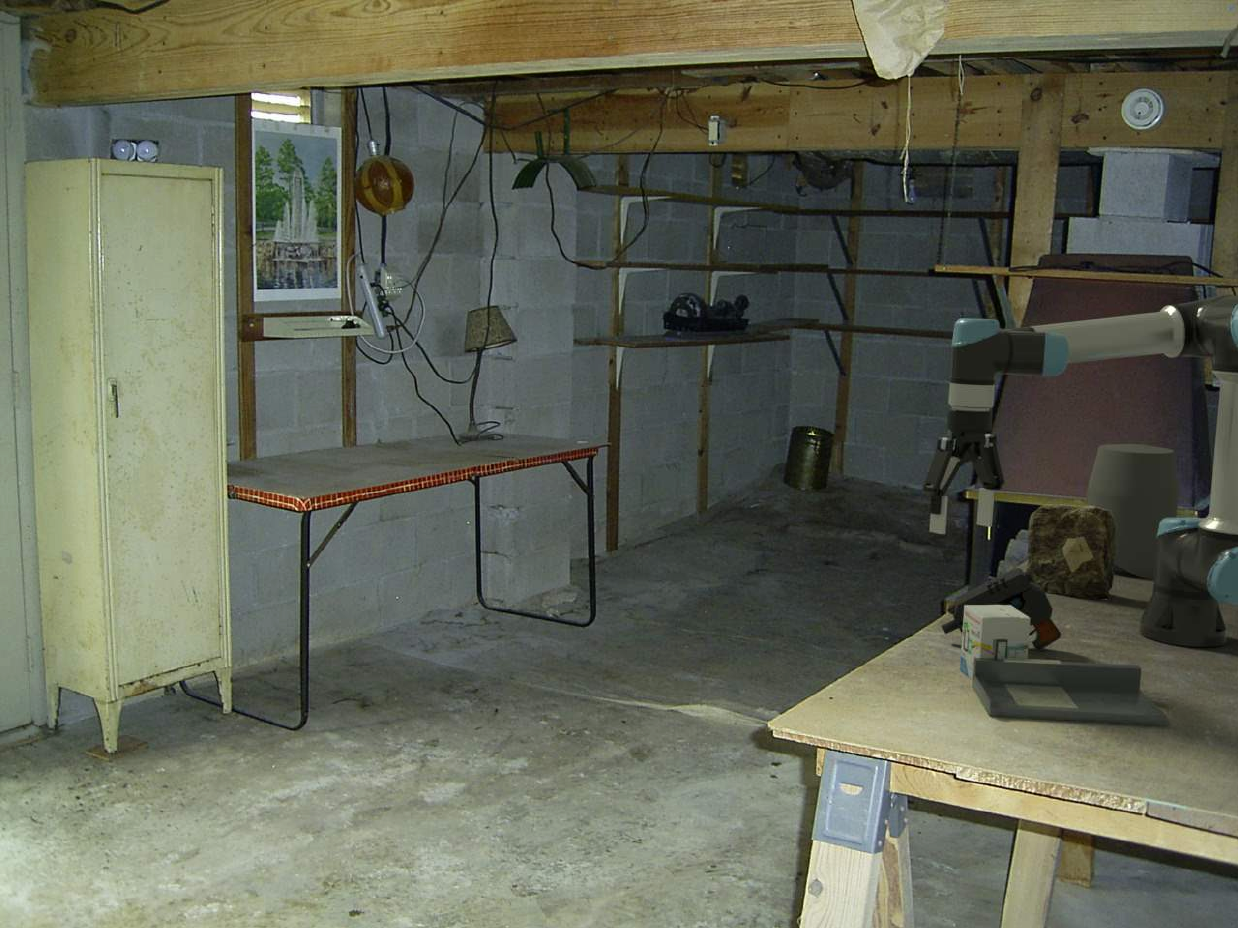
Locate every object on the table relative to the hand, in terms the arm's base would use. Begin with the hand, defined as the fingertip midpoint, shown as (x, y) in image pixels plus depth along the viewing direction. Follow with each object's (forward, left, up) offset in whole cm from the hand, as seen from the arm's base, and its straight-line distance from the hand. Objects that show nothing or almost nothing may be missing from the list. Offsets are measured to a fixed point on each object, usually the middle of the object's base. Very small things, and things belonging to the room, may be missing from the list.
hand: (961, 529), depth 213 cm
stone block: (-34, -53, -23) cm, 67 cm away
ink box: (-5, +11, -23) cm, 26 cm away
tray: (-13, +24, -23) cm, 36 cm away
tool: (-10, -8, -23) cm, 26 cm away
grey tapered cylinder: (-55, -81, -23) cm, 100 cm away
